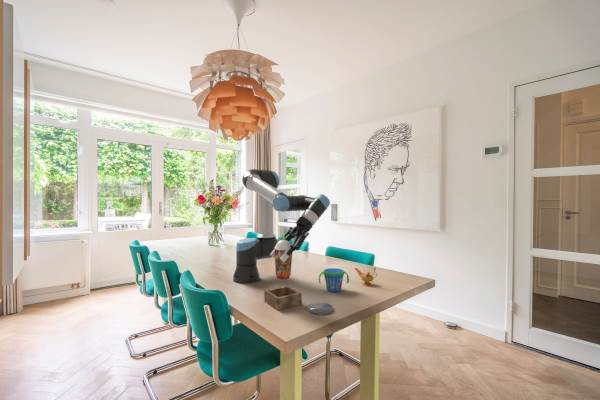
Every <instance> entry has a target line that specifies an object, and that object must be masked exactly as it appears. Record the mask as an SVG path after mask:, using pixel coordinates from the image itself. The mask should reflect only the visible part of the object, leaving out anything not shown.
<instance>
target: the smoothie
mask: <svg viewBox="0 0 600 400" xmlns="http://www.w3.org/2000/svg"><path fill="white" fill-rule="evenodd" d="M284 234H285V233H282V236H283V240H280V241H279V242H277V244H276V246H275V247H274V249H275V258H274V264H275V265H274V266H275V276H276V278H277V279H278V280H288V279H290V277H291V274H292V273H291V272H292V263H293V253H292V254H291V255H290V256H289V257H288V258H287V260H286V261H285V262H283V261H282V260H281V259H280V257H281V256H282V255H283V254H284V252H285V251H286V250H287V249H288V247H290V245H292V243H291V242H290V241H287V240H284ZM290 248H291V247H290Z"/></svg>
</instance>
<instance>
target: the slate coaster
mask: <svg viewBox="0 0 600 400" xmlns="http://www.w3.org/2000/svg"><path fill="white" fill-rule="evenodd" d="M307 312H308V313H310V314H312V315H318V316H323V315H324V316H325V315H330V314H332V312H334V307H333V305H332V304H330V303H326V302H317V301H316V302H311V303H308V305H307Z"/></svg>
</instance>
